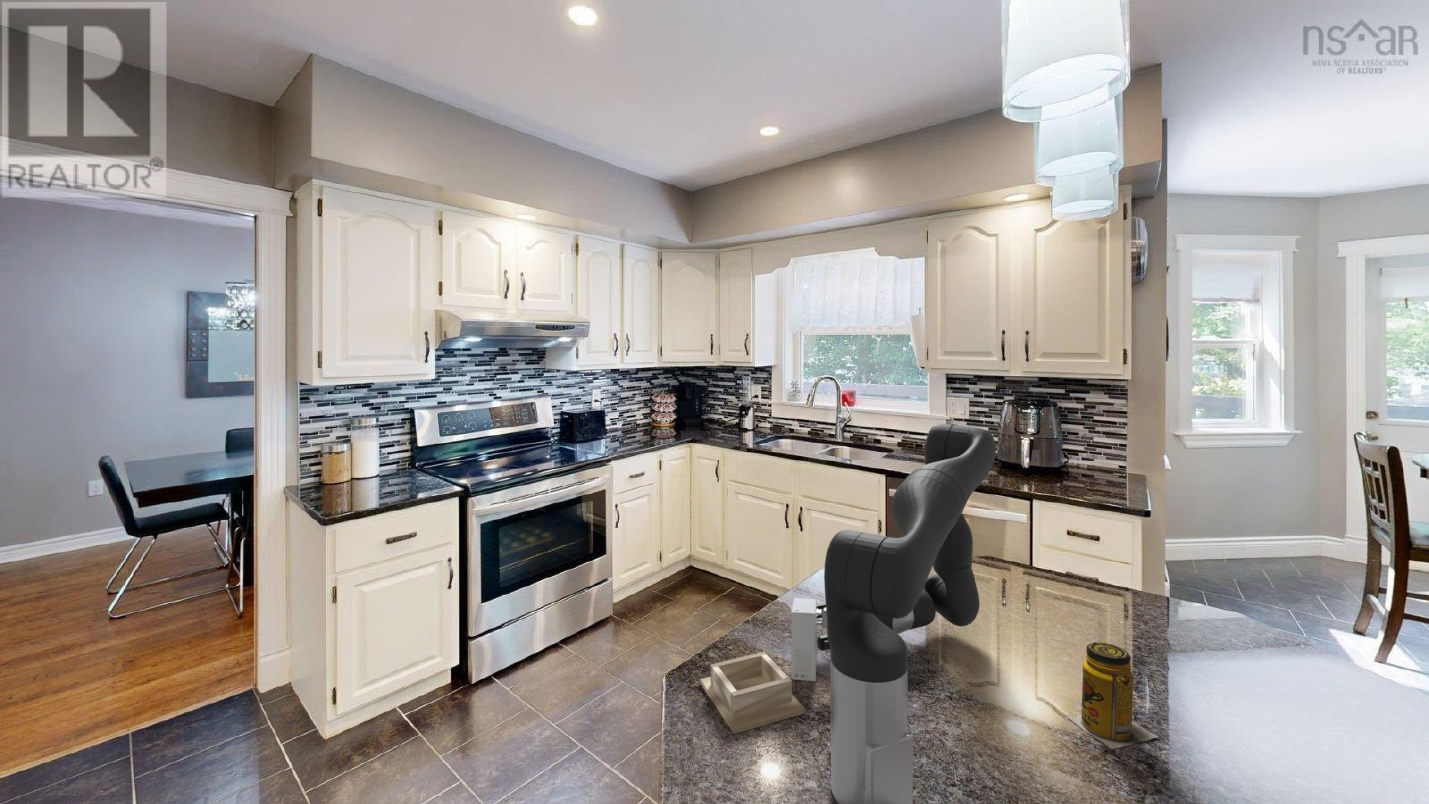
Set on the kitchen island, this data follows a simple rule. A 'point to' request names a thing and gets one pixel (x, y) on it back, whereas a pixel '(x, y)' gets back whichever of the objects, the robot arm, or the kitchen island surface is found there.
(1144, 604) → the kitchen island surface
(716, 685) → the block
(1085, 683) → the condiment
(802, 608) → the skincare box
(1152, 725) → the kitchen island surface
